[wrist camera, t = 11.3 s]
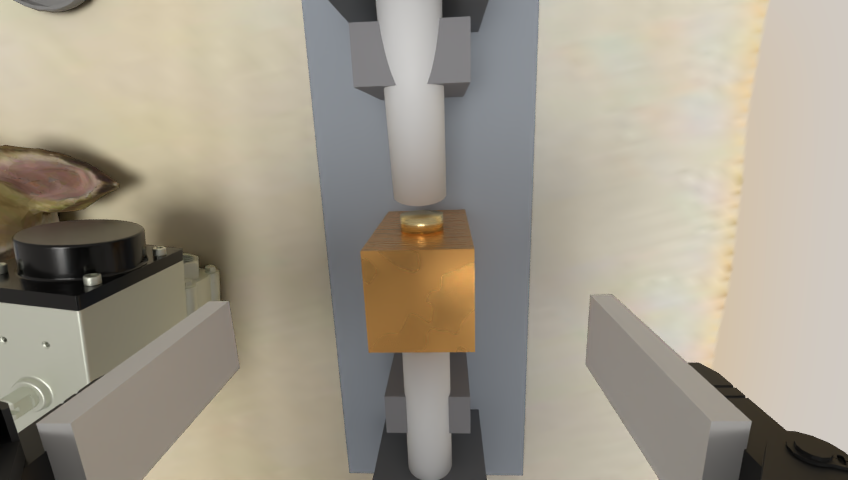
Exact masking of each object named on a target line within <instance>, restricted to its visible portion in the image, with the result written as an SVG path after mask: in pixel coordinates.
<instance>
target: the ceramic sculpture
mask: <svg viewBox="0 0 848 480" xmlns="http://www.w3.org/2000/svg"><path fill="white" fill-rule="evenodd" d="M118 188H119V183H117V182H116V181H115V180H113V179H112V178H111V177H109V176H108V175H106V174H105V173H103V172H102V171H100V170H99V169H97V168H96V167H94V166H92V165H90V164H88V163H86V162H83V161H80V160H77V159H75V158H72V157H71V156H68V155H64V154H60V153H56V152H51V151H47V150H43V149H33V148H23V147H15V146H8V145H3V146H0V262H2V261H5V260H9V259H12V258H15V253H14V248H13V243H12V237H13V235H14V234H15V233H17V232H19V231H21V230H23V229H26V228H29V227H33V226H37V225H42V224H48V223H54V222H59V218H58V214H57V212H68V211H77V210H82V209H85V208H86V207H88V206H89V205H91V204H92V203H94V202H95V201H97V200H98V199H99V198H101V197H102V196H104V195H105V194H107V193H109V192H112V191H114V190H116V189H118Z"/></svg>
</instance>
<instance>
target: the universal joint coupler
mask: <svg viewBox="0 0 848 480" xmlns="http://www.w3.org/2000/svg"><path fill="white" fill-rule="evenodd" d="M360 254H361V266H362V278H363V290H364V303H365V315H366V327H367V339H368V351H369V353H413V352H475V250H474V245H473V240H472V236H471V232H470V228H469V224H468V220H467V215H466V211H465V209H460V210H415V211H389V212H388V213H387V214H386V216H385V217H384V219H383V220H382V221H381V223H380V224H379V226H378V227H377V228H376V230H375V231H374V233H373V234H372V236H371V237H370V238H369V240H368V241H367V243H366V244H365V245H364V247H363V248H362V250H361V251H360Z"/></svg>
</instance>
